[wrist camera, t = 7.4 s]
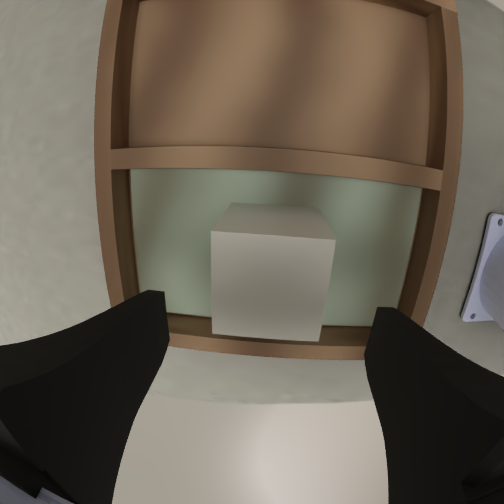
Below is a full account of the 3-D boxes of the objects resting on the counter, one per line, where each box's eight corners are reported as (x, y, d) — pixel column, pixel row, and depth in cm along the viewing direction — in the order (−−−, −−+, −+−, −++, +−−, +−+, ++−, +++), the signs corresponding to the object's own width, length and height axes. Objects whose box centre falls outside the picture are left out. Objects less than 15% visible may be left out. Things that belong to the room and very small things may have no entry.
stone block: (318, 208, 15) (336, 239, 10) (309, 286, 17) (318, 341, 12) (231, 202, 15) (210, 230, 11) (229, 280, 17) (212, 333, 12)
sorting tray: (431, 14, 11) (454, -2, 8) (396, 331, 19) (410, 358, 16) (133, -3, 12) (111, -20, 10) (135, 312, 20) (117, 336, 17)
